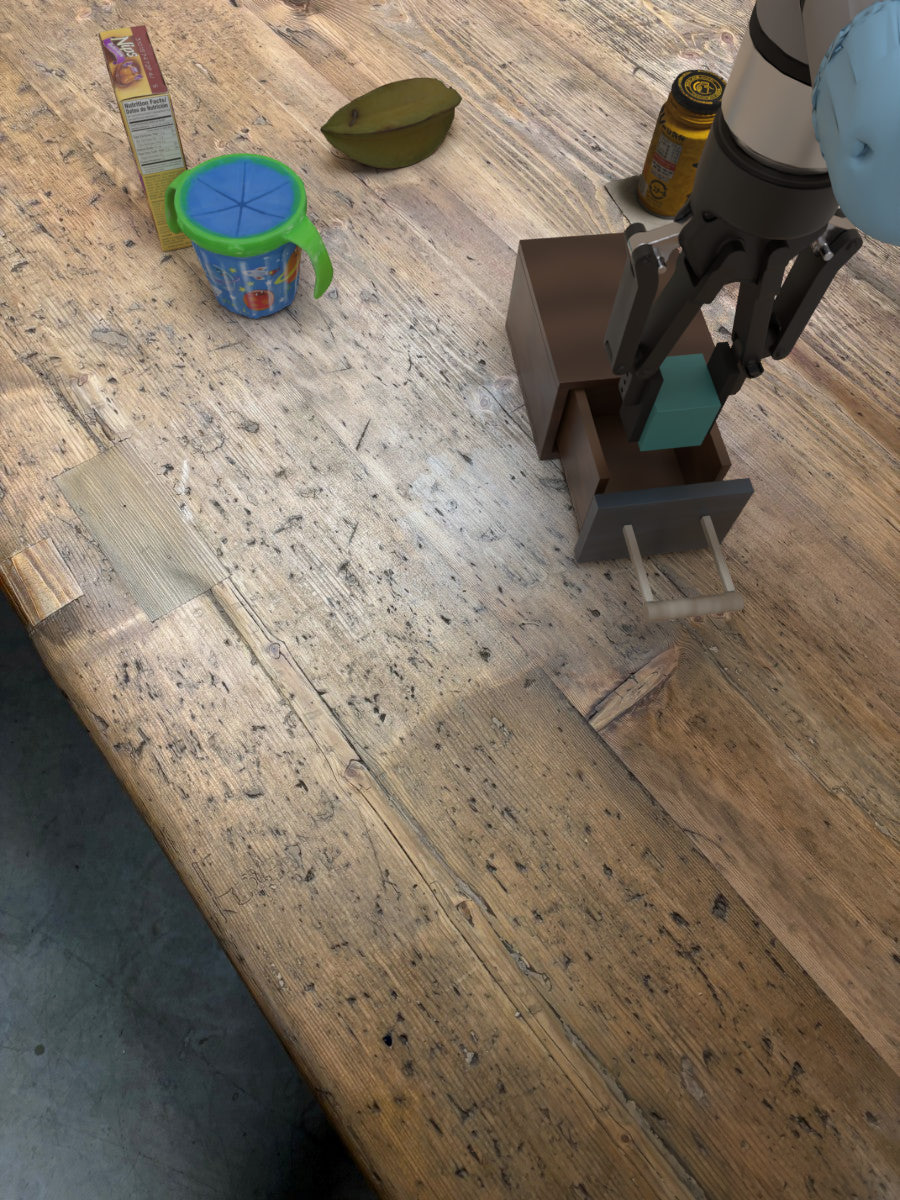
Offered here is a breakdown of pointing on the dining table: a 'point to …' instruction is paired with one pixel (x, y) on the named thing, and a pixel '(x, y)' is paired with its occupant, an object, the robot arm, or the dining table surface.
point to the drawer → (648, 498)
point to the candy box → (146, 120)
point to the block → (681, 405)
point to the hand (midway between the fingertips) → (664, 422)
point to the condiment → (672, 151)
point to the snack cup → (248, 230)
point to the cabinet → (572, 323)
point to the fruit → (394, 123)
